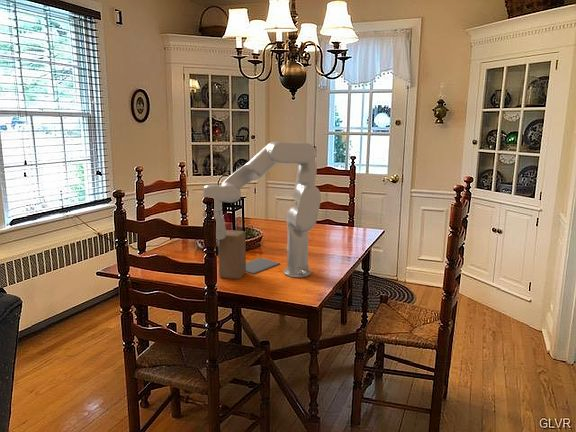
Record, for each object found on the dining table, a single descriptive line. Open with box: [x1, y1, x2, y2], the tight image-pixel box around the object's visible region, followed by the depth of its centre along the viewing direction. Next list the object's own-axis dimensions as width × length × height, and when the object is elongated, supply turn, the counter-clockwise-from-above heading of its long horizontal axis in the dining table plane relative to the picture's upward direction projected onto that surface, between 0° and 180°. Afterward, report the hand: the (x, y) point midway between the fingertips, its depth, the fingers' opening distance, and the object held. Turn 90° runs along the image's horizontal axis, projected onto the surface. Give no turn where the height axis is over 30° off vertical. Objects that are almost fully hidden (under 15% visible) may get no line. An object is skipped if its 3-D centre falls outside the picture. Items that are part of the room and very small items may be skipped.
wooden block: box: [218, 229, 247, 280], centre depth 205 cm, size 10×10×20 cm
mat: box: [245, 257, 281, 275], centre depth 220 cm, size 19×13×1 cm
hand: (214, 255), depth 196 cm, fingers closed
